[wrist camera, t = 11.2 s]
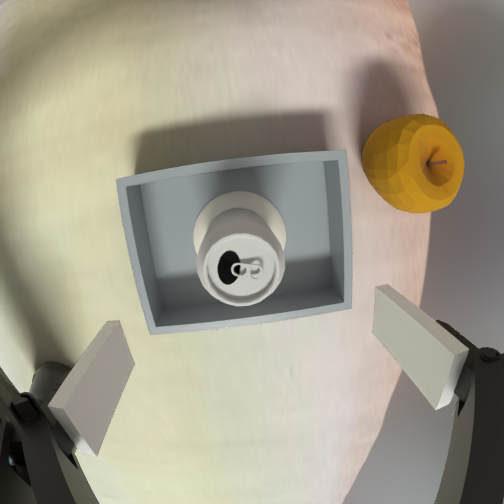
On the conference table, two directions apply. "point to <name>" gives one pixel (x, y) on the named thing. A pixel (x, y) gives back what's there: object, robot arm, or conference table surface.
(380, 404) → the conference table surface
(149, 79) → the conference table surface
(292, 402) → the conference table surface
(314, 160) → the walled box
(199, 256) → the can
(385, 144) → the apple
